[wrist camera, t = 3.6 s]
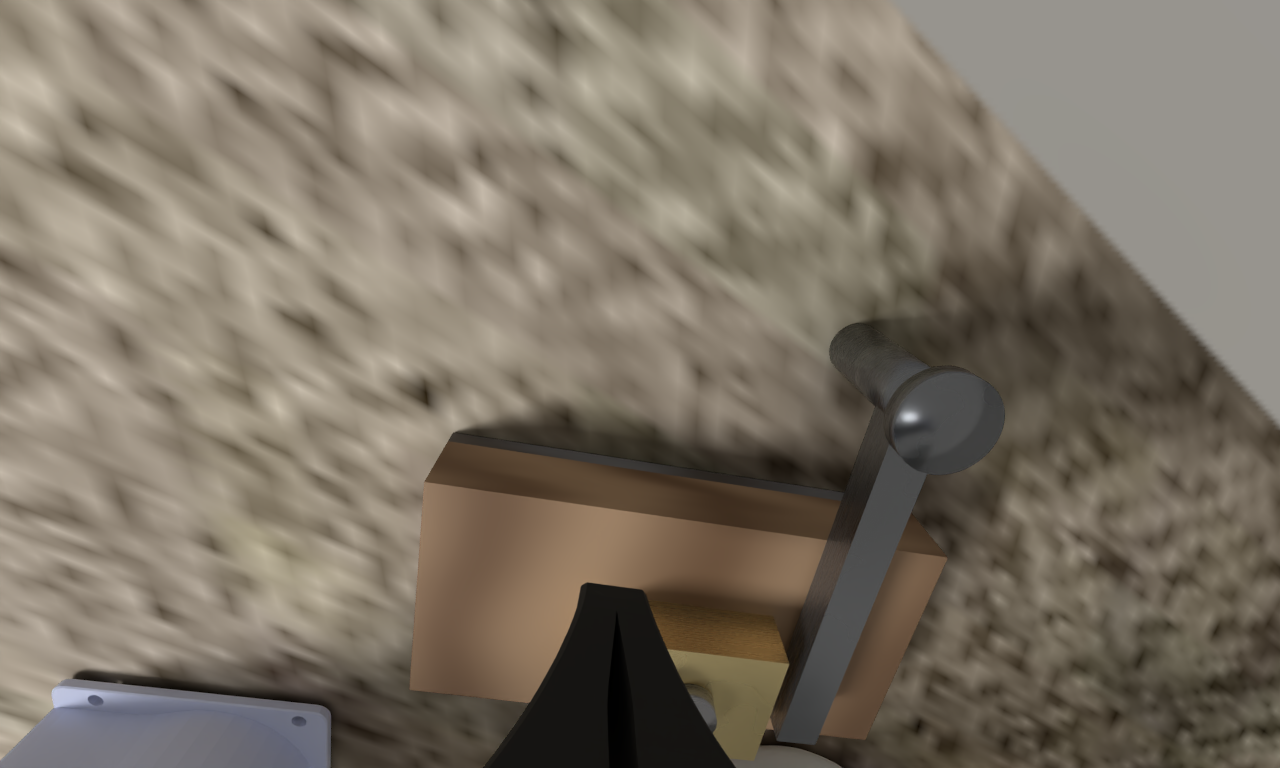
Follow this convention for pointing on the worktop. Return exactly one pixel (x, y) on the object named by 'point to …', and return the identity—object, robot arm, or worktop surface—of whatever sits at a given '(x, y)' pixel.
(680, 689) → the robot arm
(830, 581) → the lever
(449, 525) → the body
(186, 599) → the worktop surface
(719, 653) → the yellow rectangular block
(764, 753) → the supplement tub
